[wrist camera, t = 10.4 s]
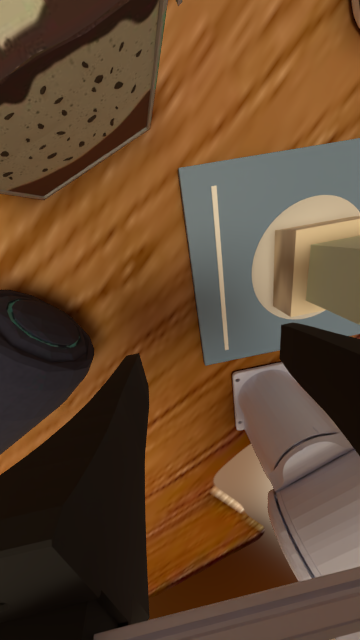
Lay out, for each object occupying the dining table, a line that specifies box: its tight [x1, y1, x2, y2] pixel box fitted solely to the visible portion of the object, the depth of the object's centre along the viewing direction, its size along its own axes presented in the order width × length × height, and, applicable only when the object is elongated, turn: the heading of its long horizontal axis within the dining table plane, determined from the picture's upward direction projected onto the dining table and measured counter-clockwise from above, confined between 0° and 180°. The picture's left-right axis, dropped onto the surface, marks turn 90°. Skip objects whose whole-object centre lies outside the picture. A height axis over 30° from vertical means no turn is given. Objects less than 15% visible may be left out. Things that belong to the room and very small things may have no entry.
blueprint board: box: [178, 138, 360, 365], centre depth 18 cm, size 18×22×4 cm
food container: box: [0, 0, 182, 200], centre depth 9 cm, size 12×6×10 cm, turn 119°
